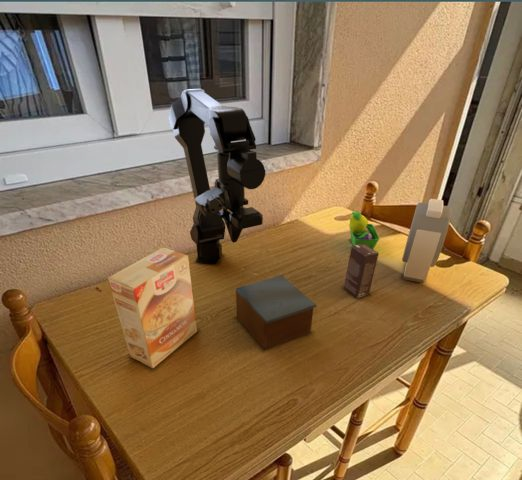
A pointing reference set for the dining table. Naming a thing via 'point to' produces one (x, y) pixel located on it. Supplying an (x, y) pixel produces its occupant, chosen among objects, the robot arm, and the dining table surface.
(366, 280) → the box
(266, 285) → the lid
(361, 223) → the fruit basket
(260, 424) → the dining table surface
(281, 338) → the chest
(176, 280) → the coffeecake box
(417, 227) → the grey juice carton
